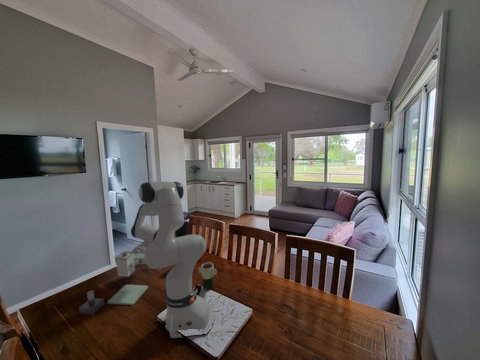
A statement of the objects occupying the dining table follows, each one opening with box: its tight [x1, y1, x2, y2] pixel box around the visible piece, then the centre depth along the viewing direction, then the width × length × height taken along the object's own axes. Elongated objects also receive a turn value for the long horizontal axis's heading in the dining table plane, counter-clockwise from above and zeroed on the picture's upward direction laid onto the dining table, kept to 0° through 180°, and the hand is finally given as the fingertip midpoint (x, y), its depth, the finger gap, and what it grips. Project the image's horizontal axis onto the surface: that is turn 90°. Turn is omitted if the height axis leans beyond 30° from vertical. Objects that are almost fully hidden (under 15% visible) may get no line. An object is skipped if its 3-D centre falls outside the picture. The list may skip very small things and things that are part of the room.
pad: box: [107, 284, 149, 306], centre depth 109 cm, size 14×14×1 cm
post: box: [78, 290, 105, 316], centre depth 100 cm, size 7×7×9 cm
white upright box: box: [116, 253, 136, 277], centre depth 107 cm, size 6×6×11 cm
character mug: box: [198, 261, 218, 290], centre depth 114 cm, size 11×7×13 cm, turn 77°
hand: (124, 265), depth 107 cm, fingers closed on white upright box, 6 cm apart
